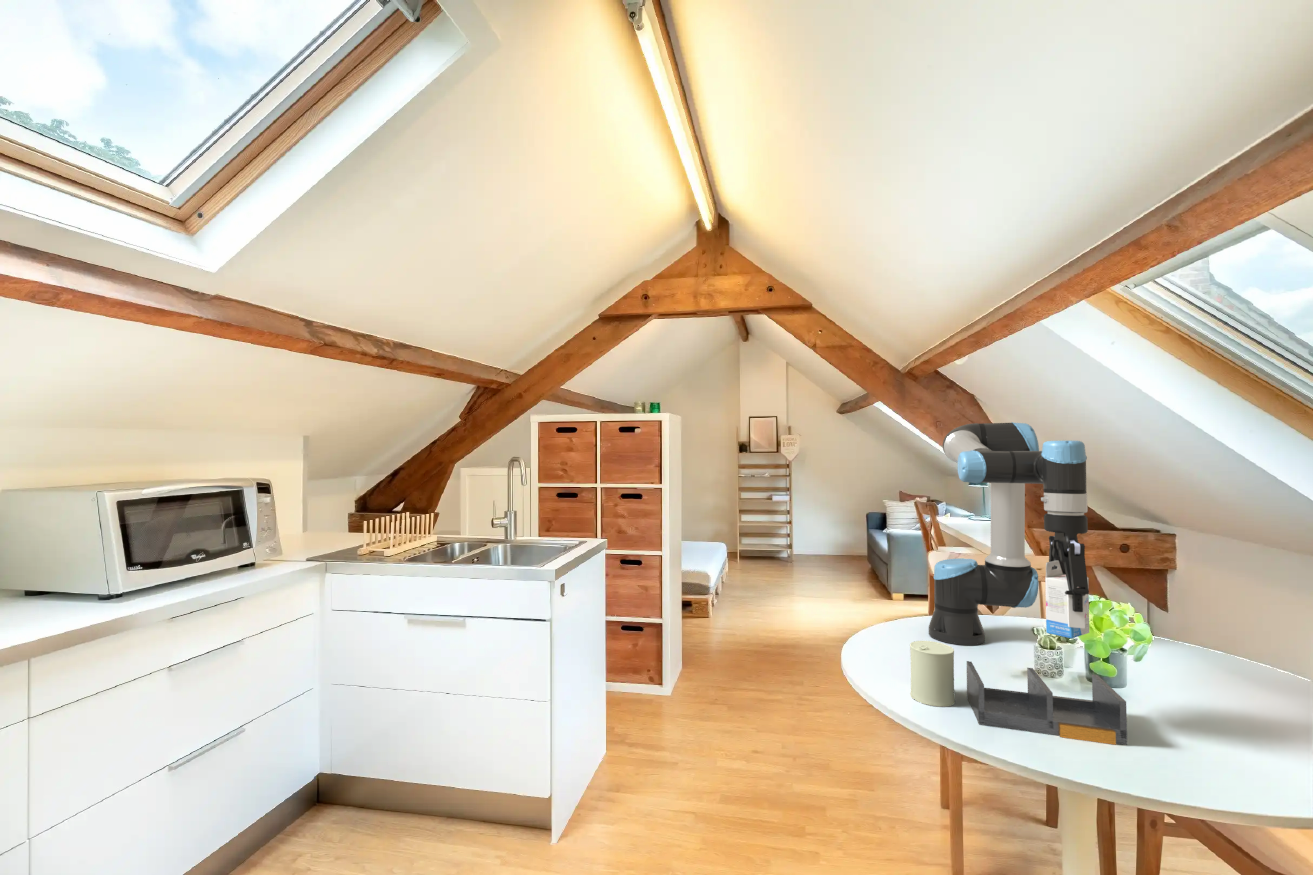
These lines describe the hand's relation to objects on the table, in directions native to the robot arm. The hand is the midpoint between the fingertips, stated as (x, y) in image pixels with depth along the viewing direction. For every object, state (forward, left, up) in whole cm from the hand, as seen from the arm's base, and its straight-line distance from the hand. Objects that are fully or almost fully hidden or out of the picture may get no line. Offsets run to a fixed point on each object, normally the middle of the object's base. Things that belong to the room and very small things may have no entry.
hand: (1067, 620), depth 121 cm
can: (-2, -26, -21) cm, 33 cm away
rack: (+2, -6, -21) cm, 21 cm away
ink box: (0, 0, -3) cm, 3 cm away
